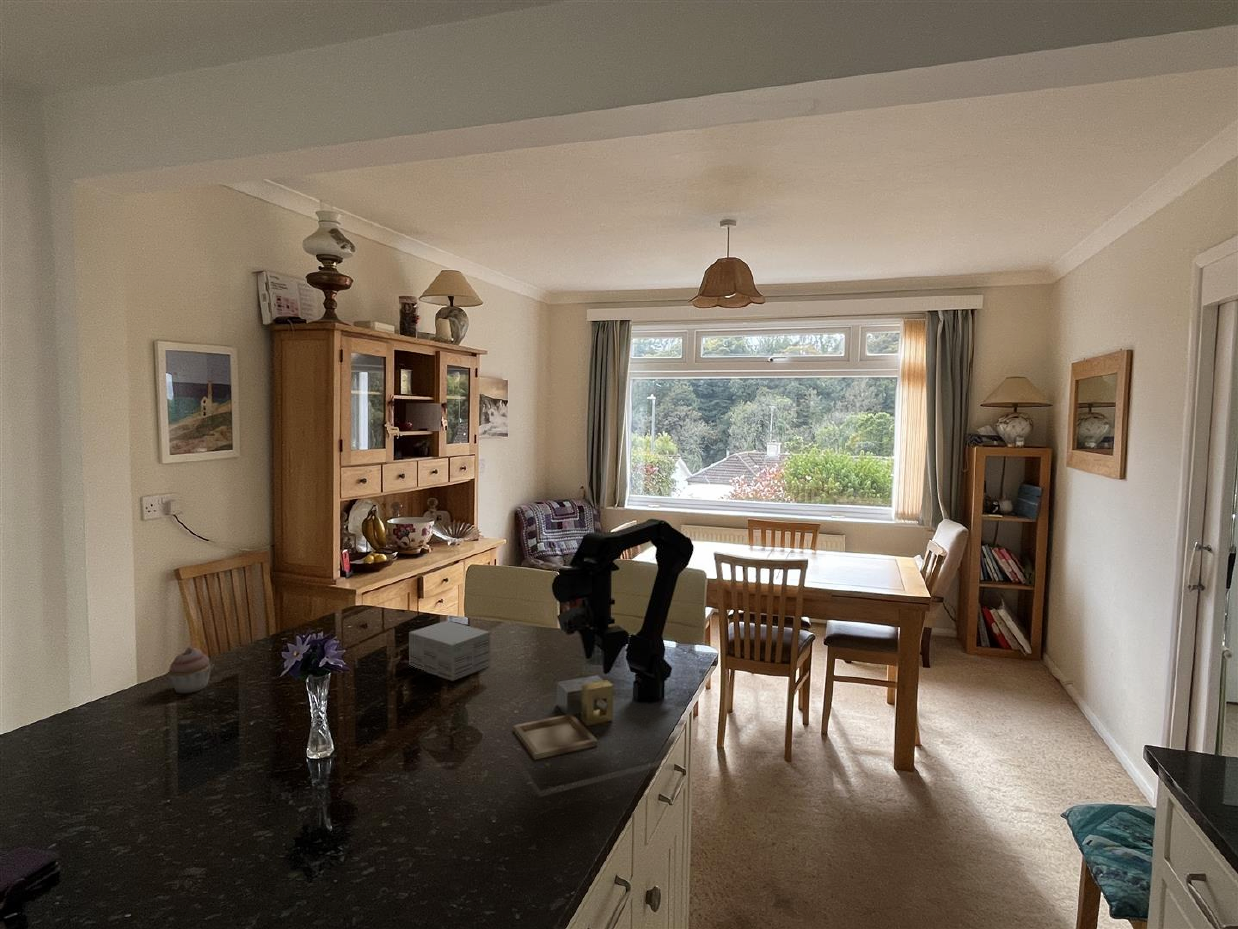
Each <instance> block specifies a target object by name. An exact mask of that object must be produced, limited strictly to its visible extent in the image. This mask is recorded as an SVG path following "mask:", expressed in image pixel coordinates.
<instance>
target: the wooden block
mask: <svg viewBox="0 0 1238 929" xmlns="http://www.w3.org/2000/svg"><path fill="white" fill-rule="evenodd" d="M598 699H602V700H604V701H605V702H606V703H607V705H608V707H607V709H606V710H602V709H599V710H594V700H598ZM613 708H614V685H613V683H611V682H610V680H608V679H607V680H604V681H599V682H594V683H588V684H582V694H581V713H580V720H581V722H582V723H584V725H585V726H591V725H598V724H600V723H601V724H602V723H607V722H610V721H611V722H612V721H613V717H614V716H613V713H614V709H613Z"/></svg>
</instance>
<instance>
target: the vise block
mask: <svg viewBox="0 0 1238 929" xmlns="http://www.w3.org/2000/svg"><path fill="white" fill-rule="evenodd" d="M599 681H605V680H604V679H603V678H602V677H601V676H599V675H598V674H596V675H591V676H585V677H579V678H573V679H568V680H563V681H557V682H556V706H557V707H558V708H559V710H561V712H563V713H564V715H568V714H573V715H574V716H575V715H578V714H580V715H581V694H582V684H588V683H594V682H599ZM607 707H608V705H607V703H606V702H605V701H604V700H602V699H598V700H594V710H599V709H602V710H606V709H607Z"/></svg>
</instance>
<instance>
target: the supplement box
mask: <svg viewBox="0 0 1238 929" xmlns="http://www.w3.org/2000/svg"><path fill="white" fill-rule="evenodd" d="M408 657H409V658H408V666H409V665H411V666H413V667H415V668H414V669H416V668H418V669H417V670H419V669H421V670H420V671H422V670H424V671H423V672H425V671H426V672H425V673H428V674H431V675H434V676H436V675H437V676H436V677H440V678H442V679H446V680H449V681H452V682H453V681H456V680H459V679H461V678H463V677H467V676H468V675H472V674H474V673H476V672H479V671H481V670H484V669H487V668H488V667H489V668H490V667H491V631H487V630H483V629H480V628H476V627H472V626H469V625H465V624H461V623H457V622H454V621H451V620H444V621H441V622H438V623H435V624H432V625H428V626H425V627H422V628H418V629H416V630H412V631H409V632H408ZM411 666H410V667H411ZM413 667H412V668H413Z"/></svg>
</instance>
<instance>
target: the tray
mask: <svg viewBox="0 0 1238 929" xmlns="http://www.w3.org/2000/svg"><path fill="white" fill-rule="evenodd" d="M512 729H513V731H514V733H515V735H516V736H517V738H518V739H519V740H520V742H521V744H523V745H524V748H526V750H527V751H528V753H529V754H530V755H531V757H532V758H533V759H534V761H536V760H540V759H543V758H549V757H554V756H559V755H563V754H566V753H571V752H576V751H581V750H584V749H588V748H593V747H598V739H597V738H596V737H595V736H594V735H593V734H592V733H591V732H590V731H589V730H588V729H587V728H586V726H584V724H583V723H581V722H580V720H579V719H578V718H577V717H576V716H575V715H573V714H568V715H566V714H564V715H559V716H553V717H548V718H543V719H538V720H533V721H528V722H524V723H518V724H514V725H513V726H512Z"/></svg>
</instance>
